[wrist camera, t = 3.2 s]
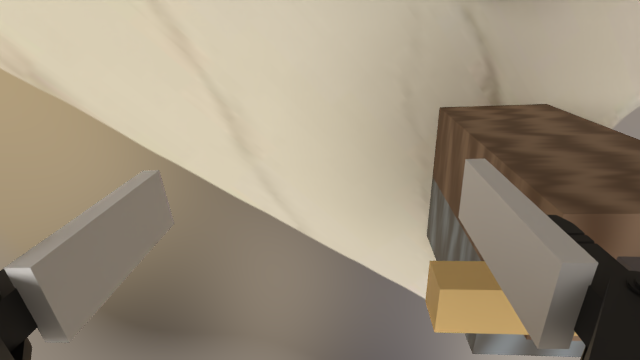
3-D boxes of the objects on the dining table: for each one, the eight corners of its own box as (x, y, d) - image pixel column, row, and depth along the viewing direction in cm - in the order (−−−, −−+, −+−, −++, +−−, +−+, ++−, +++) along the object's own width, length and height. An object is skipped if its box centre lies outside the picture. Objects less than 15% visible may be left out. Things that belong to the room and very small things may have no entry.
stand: (426, 235, 62) (500, 426, 32) (439, 107, 52) (563, 214, 23) (515, 235, 61) (678, 435, 31) (546, 104, 51) (829, 212, 21)
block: (425, 305, 27) (437, 349, 23) (430, 255, 25) (444, 294, 21) (667, 310, 25) (721, 357, 22) (694, 256, 23) (759, 299, 20)
